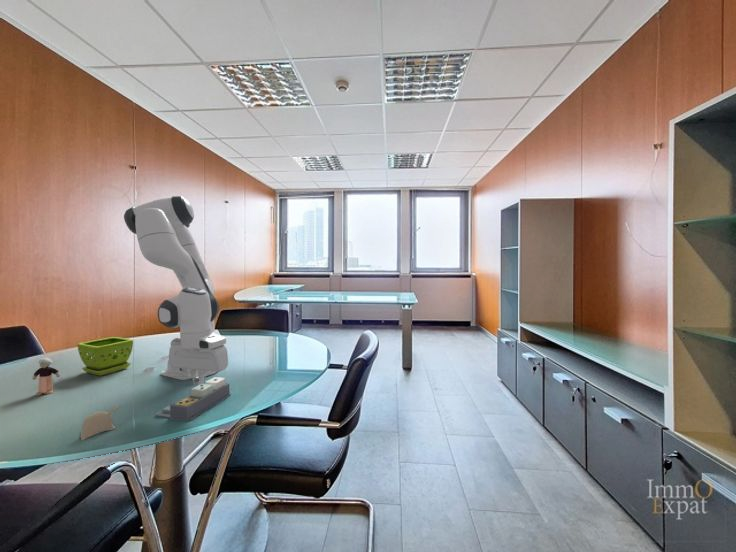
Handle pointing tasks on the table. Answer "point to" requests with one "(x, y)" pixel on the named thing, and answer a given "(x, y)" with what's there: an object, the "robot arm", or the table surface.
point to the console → (195, 405)
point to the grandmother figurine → (45, 376)
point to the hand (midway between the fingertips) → (198, 382)
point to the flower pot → (105, 355)
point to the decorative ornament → (97, 423)
